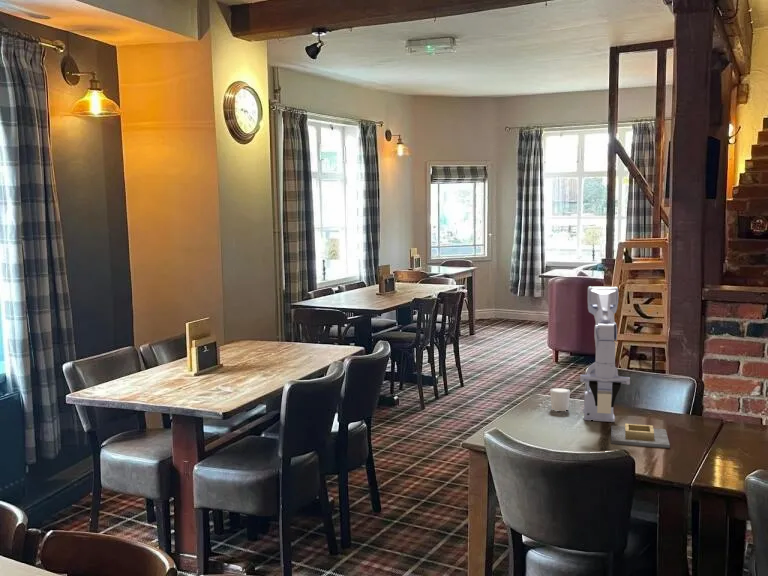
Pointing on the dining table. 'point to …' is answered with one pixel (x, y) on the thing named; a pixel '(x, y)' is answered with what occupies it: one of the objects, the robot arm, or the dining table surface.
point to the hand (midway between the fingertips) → (604, 405)
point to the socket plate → (639, 436)
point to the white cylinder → (560, 398)
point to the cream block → (604, 402)
